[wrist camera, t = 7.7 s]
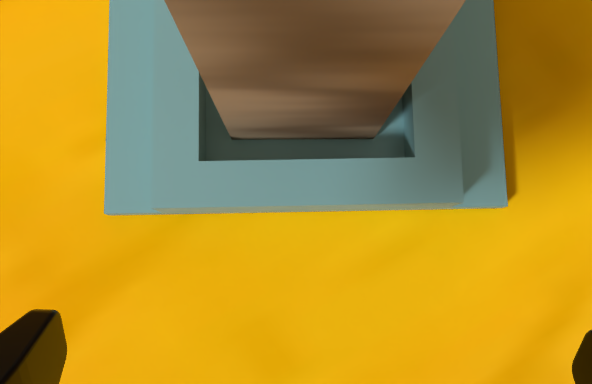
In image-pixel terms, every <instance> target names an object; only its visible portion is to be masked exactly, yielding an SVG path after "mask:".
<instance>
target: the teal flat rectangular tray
mask: <svg viewBox="0 0 592 384" xmlns="http://www.w3.org/2000/svg"><path fill="white" fill-rule="evenodd" d="M507 206H508V203H507V189H506V174H505V160H504V146H503V131H502V117H501V103H500V88H499V74H498V60H497V45H496V31H495V17H494V2H493V0H466V1H465V2H464V4H463V5H462V7H461V8H460V10H459V11H458V13H457V14H456V16H455V17H454V19H453V20H452V22H451V23H450V25H449V26H448V28H447V29H446V31H445V32H444V34H443V35H442V37H441V38H440V40H439V41H438V43H437V44H436V46H435V47H434V49H433V51H432V52H431V54H430V55H429V57H428V58H427V60H426V61H425V63H424V64H423V66H422V67H421V69H420V70H419V72H418V73H417V75H416V76H415V78H414V79H413V81H412V82H411V84H410V85H409V87H408V88H407V90H406V91H405V93H404V94H403V96H402V97H401V99H400V100H399V102H398V103H397V105H396V106H395V108H394V109H393V111H392V112H391V114H390V115H389V117H388V118H387V120H386V121H385V123H384V124H383V126H382V127H381V129H380V130H379V132H378V133H377V135H376V136H375V138H374V139H268V140H232V139H231V137H230V135H229V133H228V131H227V129H226V127H225V125H224V123H223V121H222V119H221V116H220V114H219V112H218V110H217V108H216V106H215V104H214V102H213V100H212V98H211V96H210V94H209V92H208V90H207V88H206V85H205V83H204V81H203V79H202V77H201V75H200V73H199V71H198V69H197V67H196V65H195V63H194V61H193V59H192V57H191V54H190V52H189V50H188V48H187V46H186V44H185V42H184V40H183V38H182V36H181V34H180V32H179V30H178V28H177V26H176V24H175V21H174V19H173V17H172V15H171V13H170V11H169V9H168V7H167V5H166V3H165V1H164V0H110V7H109V46H108V85H107V124H106V163H105V202H104V214H107V215H150V214H204V213H257V212H311V211H364V210H418V209H472V208H503V207H507Z"/></svg>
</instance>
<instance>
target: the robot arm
mask: <svg viewBox="0 0 592 384" xmlns="http://www.w3.org/2000/svg"><path fill="white" fill-rule="evenodd" d="M66 355H67V343H66V339H65V334H64V329H63V324H62V319H61V316H60V314H59V312H58V311H56V310H43V309H35V310H31V311H29V312H28V313H26V314H25V315H24V316H22V317H21V318H20V319H18V320H17V321H16V322H14V323H13V324H12V325H10V326H9V327H8V328H6V329H5V330H4V331H2V332H1V333H0V384H59V382H60V378H61V375H62V371H63V367H64V364H65V360H66ZM572 374H573V378H574V381H575V384H592V330H590V331H588V332H587V333H586V334H585V336H584V338H583V341H582V343H581V345H580V347H579V349H578V351H577V353H576V356H575V358H574V360H573V364H572Z"/></svg>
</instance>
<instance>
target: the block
mask: <svg viewBox="0 0 592 384" xmlns="http://www.w3.org/2000/svg"><path fill="white" fill-rule="evenodd" d="M164 1H165V3H166V5H167V7H168V9H169V11H170V13H171V15H172V17H173V19H174V21H175V24H176V26H177V28H178V30H179V32H180V34H181V36H182V38H183V40H184V42H185V44H186V46H187V48H188V50H189V52H190V54H191V57H192V59H193V61H194V63H195V65H196V67H197V69H198V71H199V73H200V75H201V77H202V79H203V81H204V83H205V85H206V88H207V90H208V92H209V94H210V96H211V98H212V100H213V102H214V104H215V106H216V108H217V110H218V112H219V114H220V116H221V119H222V121H223V123H224V125H225V127H226V129H227V131H228V133H229V135H230V137H231V139H232V140H268V139H374V138H375V136H376V135H377V133H378V132H379V130H380V129H381V127H382V126H383V124H384V123H385V121H386V120H387V118H388V117H389V115H390V114H391V112H392V111H393V109H394V108H395V106H396V105H397V103H398V102H399V100H400V99H401V97H402V96H403V94H404V93H405V91H406V90H407V88H408V87H409V85H410V84H411V82H412V81H413V79H414V78H415V76H416V75H417V73H418V72H419V70H420V69H421V67H422V66H423V64H424V63H425V61H426V60H427V58H428V57H429V55H430V54H431V52H432V51H433V49H434V47H435V46H436V44H437V43H438V41H439V40H440V38H441V37H442V35H443V34H444V32H445V31H446V29H447V28H448V26H449V25H450V23H451V22H452V20H453V19H454V17H455V16H456V14H457V13H458V11H459V10H460V8H461V7H462V5H463V4H464V2H465V1H466V0H164Z"/></svg>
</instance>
